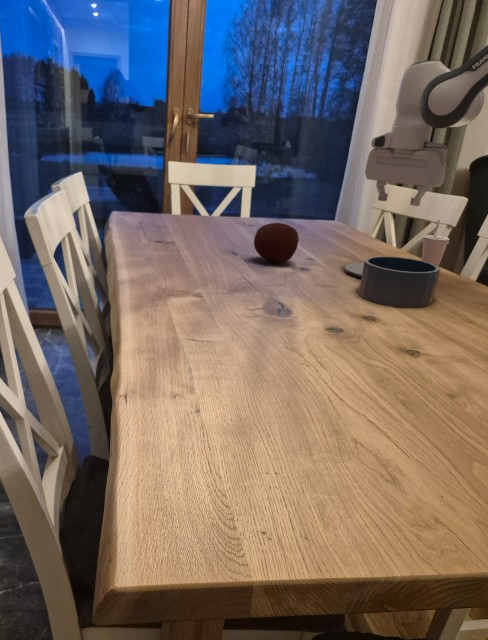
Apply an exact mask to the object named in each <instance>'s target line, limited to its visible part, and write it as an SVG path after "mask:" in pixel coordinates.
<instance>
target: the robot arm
mask: <svg viewBox="0 0 488 640" xmlns="http://www.w3.org/2000/svg"><path fill="white" fill-rule="evenodd" d="M487 87H488V44H487V45H486V46H484V47H483V48H482V49H481V50H479V51H478V52H477V53H476V54H475V55H473V56H472V57H471V58H470V59H469V60H467V61H466V62H465V63H463V64H461V65H460V66H458V67H457V68H454V69H452V70H451V68H448V66H446V65H444V64H443V62H442V61H441V60H439V59H430V60H429V59H427V60H422V61H418V62H414V63H412V64H409V66H408V67H406V69H405V70H404V72H403V75H402V76H401V81H400V85H399V88H398V93H397V98H396V103H395V112H396V113H395V118H394V120H393V123H392V126H391V131H388V132H385V133H384V134H380V135H378V136H375V137H373V138H372V139H371V142H370V146H371V147H372V149H370V151H369V152H368V155H367V160H366V164H365V172H364V175H365V178H366V180H370V181H376V183H375V186H376V190H377V193H378V196H377V201H379V202H386V201H388V197H389V193H387V192H386V189H385V186H387V183H394V184H403V185H412V186H417V187H416V191H417V193H416V194H415V195H414V197H411V198H410V202H409V205H410V206H413V207H419V206H420V205H421V200H422V198H423V197H424V196H425V194H426V193H427V192H428V188H439V187H441V186H442V185H443V184H444V182H445V177H446V169H447V160H448V155H449V149H448V147H447V146H446V145H445V144H444V143H443V142H433V141H431V136H432V131H433V128H434V129H446V128H458V127H462V126H465V125H467V124H469V123H471V122H473V121H474V120H476V118H477V117H478V116H479V114H480V113H481V111H482V110H483V107H484V103H485V93H484V90H485V89H486V88H487Z"/></svg>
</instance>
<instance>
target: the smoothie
mask: <svg viewBox="0 0 488 640" xmlns="http://www.w3.org/2000/svg"><path fill="white" fill-rule="evenodd" d="M440 221H441V220H440V219H437V221H436V224H435V228H434V229H435V230H434V234H427V235H423V237H422V241H423V243H422V252H421V261H425V262H428V263H431V264H434V265H436V266H438V267H439V268H440V264H441V262H442V259H443V256H444V253H445V251H446V248H447V245H448V244H450V238H449V237H447V236H442V235H437V234H438V229H439V226H440Z"/></svg>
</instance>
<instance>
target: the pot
mask: <svg viewBox="0 0 488 640" xmlns="http://www.w3.org/2000/svg"><path fill="white" fill-rule="evenodd" d="M375 256H376V257H375ZM375 256H370V257H369V256H368V257H367V258H365V259H364V260H363V261H364V262H363V263H364V267H363V272H362V277H360V283H359V288H358V295H359V296H360V297H361V298H362V299H363V300H365V301H368V302H371V303H374V304H377V305H382V306H387V307H394V308H405V309H416V308H417V309H418V308H419V309H420V308H425V307H428V306H430V305H431V304H432V302H433V299H434V295H435V292H436V289H437V282H438V279H439V275H440V271H441V269H440V266H439V267H438V266H436V265H434V264H431V263H428V262H425V261H422V259H421V260H420V259H415V258H411V257H410V258H409V257H402V256H391V255H390V256H388V255H375Z"/></svg>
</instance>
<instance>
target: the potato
mask: <svg viewBox="0 0 488 640" xmlns="http://www.w3.org/2000/svg"><path fill="white" fill-rule="evenodd" d="M299 241H300V240H299V233H298V230H297V229H296V228H294V227H293V226H292V225H289V224H287V223H282V222H271V223H267V224H264V225H262V226H260V227H259V228H258V229H257V230H256V232H255V235H254V238H253V246H254V249H255V251H256V253H257V254H258V255H259V256H260V257H261V258H262V259H264V260H266V261H267V262H269V263H272V264H283V263H286V262H288V261H290V259H291V258H292V257H293V256H294V254H296V251H297V249H298V245H299Z"/></svg>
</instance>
